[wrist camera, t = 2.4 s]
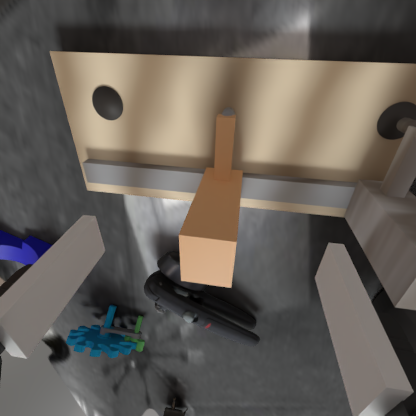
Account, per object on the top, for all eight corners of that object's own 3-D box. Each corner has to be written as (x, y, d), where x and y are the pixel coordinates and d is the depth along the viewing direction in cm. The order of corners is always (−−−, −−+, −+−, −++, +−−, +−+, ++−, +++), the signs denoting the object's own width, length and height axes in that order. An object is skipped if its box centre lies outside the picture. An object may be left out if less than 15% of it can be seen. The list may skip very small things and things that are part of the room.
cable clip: (73, 253, 33) (42, 288, 28) (69, 272, 36) (40, 308, 31) (-14, 215, 32) (-63, 245, 27) (-12, 237, 34) (-57, 269, 29)
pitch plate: (441, 64, 16) (703, 80, 7) (372, 211, 23) (457, 325, 13) (62, 51, 20) (-118, 49, 10) (95, 183, 26) (4, 258, 17)
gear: (77, 329, 41) (52, 355, 31) (89, 293, 42) (67, 307, 32) (143, 340, 42) (138, 369, 33) (152, 305, 43) (150, 323, 34)
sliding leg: (250, 107, 18) (247, 152, 10) (239, 202, 22) (231, 287, 14) (209, 104, 18) (174, 146, 10) (207, 199, 23) (181, 280, 15)
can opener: (144, 266, 33) (126, 302, 28) (175, 239, 29) (160, 275, 24) (238, 331, 37) (235, 371, 32) (274, 315, 34) (277, 357, 29)
